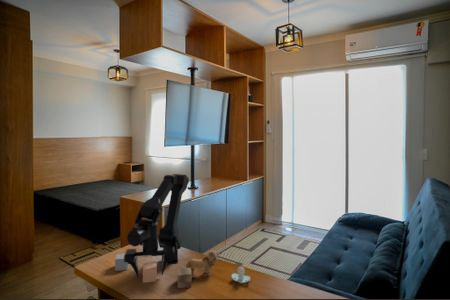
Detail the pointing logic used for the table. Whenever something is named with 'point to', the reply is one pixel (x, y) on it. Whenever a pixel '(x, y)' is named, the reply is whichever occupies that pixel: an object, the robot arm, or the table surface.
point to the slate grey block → (120, 263)
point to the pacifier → (240, 276)
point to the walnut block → (184, 277)
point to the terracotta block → (150, 272)
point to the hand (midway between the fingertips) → (150, 275)
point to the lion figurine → (203, 263)
